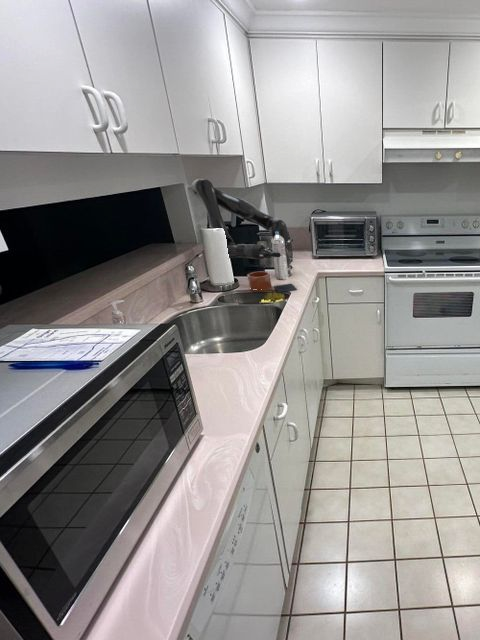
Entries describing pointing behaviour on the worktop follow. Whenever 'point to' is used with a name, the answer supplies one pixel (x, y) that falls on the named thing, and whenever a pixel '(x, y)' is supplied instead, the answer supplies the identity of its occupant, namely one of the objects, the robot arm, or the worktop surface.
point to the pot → (259, 281)
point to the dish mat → (285, 288)
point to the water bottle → (279, 262)
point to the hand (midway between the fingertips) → (283, 253)
